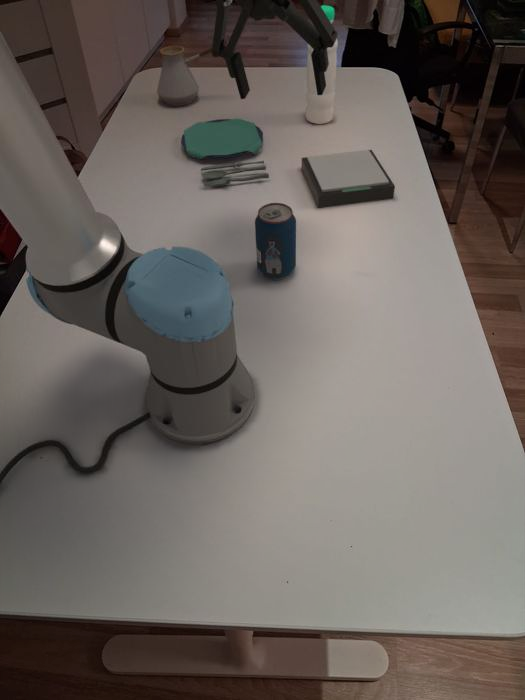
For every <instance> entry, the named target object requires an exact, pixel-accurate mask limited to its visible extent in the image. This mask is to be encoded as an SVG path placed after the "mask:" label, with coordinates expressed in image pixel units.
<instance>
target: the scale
mask: <svg viewBox="0 0 525 700" xmlns="http://www.w3.org/2000/svg"><path fill="white" fill-rule="evenodd" d="M300 168H301V169H300V170H301V172H302V174H303V176H304V179H305V181H306V183H307V186H308V188H309V190H310V193H311V195H312V197H313V199H314V202H315V204H316V206H317V208H319V209H320V208H326V207H335V206H343V205H351V204H358V203H365V202H367V203H368V202H373V201H381V200H382V201H383V200H389V199H394V195H395V188H396V186H395V183H393V181H392V179H391V177H390V176H389V175H388V173H387V172H386V170H385V169H384V166H383V165H382V164H381V162H380V161H379V159H378V157H377V156H376V154H375V153H374V151H373V150H372V149H363V150H356V151H355V150H354V151H346V152H338V153H329V154H322V155H321V154H320V155H313V156H312V155H311V156H306V157H301V167H300Z"/></svg>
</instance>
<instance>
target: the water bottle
mask: <svg viewBox="0 0 525 700" xmlns="http://www.w3.org/2000/svg"><path fill="white" fill-rule="evenodd" d="M320 6H321V8H322V9H323V11H324V12H325V14H326V16H327V17H328V19H329V21H330V22H331V24H332V25H333V22H334V21H335V20H334V19H335V15H336V14H335V13H336V12H335V8H334V7H333V6H330V5H320ZM306 44H307V57H306V58H307V59H306V88H307V89H306V108H305V118H306V120H307V121H308V122H309V123H312V124H315V125H324V124H327V123H330V122H331V121H332V120H333V119H334V115H335V106H334V104H335V99H336V98H335V97H336V95H335V88H336V87H335V86H336V79H337V63H338V62H337V60H338V59H337V58H338V55H337V54H338V53H337V50H338V46H339V42H338V38H337V39H336V41H335V43H334V45H333V47H331V48H327V53H328V61H329V65H328V68H327V70H326V72H324V74H325V81H326V87H325V89H324V92H323V94H322V95H317V89H316V83H315V76H314V70H313V64H312V58H311V54H312V52H313V50H314V49H313V48H312V47H311V46H310V45H309V44H308V43H306Z"/></svg>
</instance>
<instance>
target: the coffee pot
mask: <svg viewBox="0 0 525 700" xmlns="http://www.w3.org/2000/svg"><path fill="white" fill-rule="evenodd" d="M229 40H230V39H225V41H224V45H227V44H228V42H229ZM159 53H160V55H162V59H163V60H162V61H163V62H162V66H161V69H160V70H161V71H160V75H159V80H158V85H157V88H156V89H157V90H156V93H157V95H158V97H159V98H160V99H161V100H162V101H164V102H165V103H166V104H167V105H169V106H174V107H175V106H176V107H179V106H185V105H189V104H191V103H192V102H193V101H194V99H195V98H196V97H197V95H198V94H199V90H200V87H199V84H198V83H197V81H196V79H195V77H194V75H193V74H192V71H191V70H190V68H189V65H188V64H189V63H191V62H193V61H194V60H197V59H198V58H200V57H203V56H206V55H208V54H210V53H211V54H212V45H211V46H209V47H207V48H206V49H204V50H202V51H201V52H199V53H197V54H195V55H193V56H190V57H188V58H186V59H185V58H184V53H185V48H184V47H183V46H181V45H168V46H165V47H163V48H161V49H159Z"/></svg>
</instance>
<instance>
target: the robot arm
mask: <svg viewBox="0 0 525 700" xmlns="http://www.w3.org/2000/svg"><path fill="white" fill-rule="evenodd" d="M234 2H236V4H237V5H238V6H239V7H240V8H241V11H240V14H239V16H238V19H237V21H236V23H235V26H234V28H233V30H232V33H231V35H230V37H229V39H228V40H229V42H228V43H227V44H225V45H224V41H225V40H226V35H227V28H228V20H229V14H230V7H231V4H232V3H233V0H215V5H216V14H215V15H216V16H215V23H214V29H213V37H212V38H213V39H212V45H211V46H212V52H211V55H212V57H214V58H218V57H220V58H223V59H224V61H225V64H226V69H227V72H228V74H229V77H230V78H231V79H235V83H236V87H237V90H238V94H239V99H240V100H245V99H246V98H247V96H248V94H249V93H250V91H251V89H250V83H249V80H248V77H247V73H246V70H245V69H246V68H245V65H244V62H243V58H242V54H241V51H236V49H237V46H238V44H239V42H240V40H241V38H242V35H243V33H244V31H245V29H246V27H247V24H248V22H249V20H250V18H251V19H253V20H254V22H257V21H261V20H263V19H264V20H265V19H266V20H275V18H276V17H277V18H278V19H279V20H280V21H282V22H284V23H286V24H287V25H288V26H289V27H290V28H291V29H292V30H293V31H294V32H296V33H297V35H299V36H300V38H302V40H304V42H305V43H306V44H309V45H310V46H311V47H312V48H313V49H314V50H313V52H312V54H311V58H312V64H313V70H314V76H315V83H316V89H317V95H322V94H323V92H324V89H325V87H326V81H325V74H324V72H326V70H327V68H328V65H329V61H328V53H327V48H331V47H333V45H334V43H335V41H336V39H337V40H338V38H339V37H338V36H339V35H338V32H337V30H336V29H335V27H334V26H333V23H332V24H331V22H330V21H329V19H328V17H327V16H326V14H325V12H324V11H323V9H322V8H321V6H322V5H320V3H319V1H318V0H298V2H299V4H300V6H301V8H302V9H303V11H304V12H305V14H306V16H307V17H308V18H307V17H306V16H304V15H303V14H302V13H301V12H300V11H299V10H298V8H297V7H296V6H295V4H294V2H293V1H292V0H234ZM308 19H309V20H308ZM235 51H236V52H235ZM17 62H18V61H17V60H16V57H15V56H14V54H13V53H12V51H11V49H10V47H9V45H8V43H7V42H6V40H5V37H4V36H3V33H2V32H1V31H0V210H1V212H2V213H3V214H4V216H5V217H6V219H7V220H8V221H9V223H10V224H11V226H12V227H13V228H14V230H15V231H16V232H17V234H18V236H19V237H20V238H21V239H22V240H23V242H24V244H25V245H26V247H27V249H26V251H25V266H26V267H25V271H26V272H27V273H28V276H27V277H26V280H25V281H26V285H27V289H28V292H29V294H30V296H31V298H32V299H33V301H34V302H35V304H36V305H37V306H38V307H39V308H40V309H41V310H42V311H43V312H46V313H47V314H49V315H50V316H52V317H53V318H54V319H56V320H58V321H60V322H62V323H65V324H68V325H74V326H76V327H78V328H81V329H84V330H86V331H89V332H90V333H91V332H92V333H94V334H97V335H99V336H101V337H104V338H106V339H107V340H111V341H114V342H115V343H118V344H121V345H124V346H126V347H128V348H131V349H134V350H136V351H138V352H140V353H142V354H143V355H144V356H145V357H146V362H147V365H148V367H149V371H150V372H149V378H148V383H147V390H146V394H145V395H146V396H145V405H146V409H147V412H146V413H144V414H143V415H141V416H139V417H138V418H136V419H134V420H132V421H130V422H129V423H127V424H125V425H123V426H121V427H118V428H117V429H115V430H114V431H113V432H112V433H111V434H110V435H109V436H107V438H106V440H105V442H104V444H103V446H102V449H101V453H100V456H99V459H98V461H97V462H96V463H95V464H94V465H91V466H82V465H80V464H79V463H78V462H77V461H76V460H75V458H74V457H73V455H72V453H71V452H70V450H69V449H68V448H67V447H66V446H65V444H64V443H62V442H61V441H59V440H56V439H47V440H42V441H38V442H36V443H32V444H31V445H29V446H27V447H25V448H23V449H22V450H21V451H19V452H18V453H17V454H16V455H15V456H14V457H12V458H11V460H10V461H9V462H8V463H7V464H6V465H5V466H4V468H3V469H2V470H1V471H0V485H1V484H2V482H3V481H4V480H5V478H6V477H7V476H8V474H9V473H10V472H11V471H12V469H13V468H14V467H15V466H16V465H17V464H18V463H19V462H20V461H21V460H22V459H23V458H25V457H26V456H27V455H29V454H31V453H32V452H34V451H37V450H39V449H41V448H46V447H54V448H57V449H58V450H60V452H61V453H62V454H63V456H64V458H65V459H66V461H67V462H68V464H69V465H70V467H71V468H72V469H73V470H74V471H75V472H78V473H79V474H83V475H88V474H93V473H95V472H97V471H99V470H100V469H101V468H102V467H103V466H104V464H105V462H106V460H107V457H108V454H109V450H110V447H111V445H112V443H113V442H114V441H115V439H116V438H118V437H119V436H120V435H122V434H124V433H126V432H128V431H130V430H132V429H134V428H135V427H137V426H140V425H141V424H142V423H144V422H146V421H147V420H151V422H152V424H153V426H154V427H155V428H156V429H157V431H159V433H161V434H162V435H163V436H165V437H166V438H168V439H170V440H172V441H173V442H178V443H181V444H186V445H205V444H210V443H215V442H218V441H221V440H223V439H225V438H227V437H229V436H230V435H233V434H234V433H235V432H236V431H238V430H239V429H240V428H241V427H243V425H244V424H245V423H246V421H247V420H248V418H249V416H251V414H252V411H253V408H254V405H255V404H254V403H255V389H254V383H253V382H254V381H253V379H252V376H251V374H250V373H249V370H248V369H247V368H246V366H245V364H244V363H243V361H242V360H241V358H240V357H239V355H238V350H237V339H236V329H235V328H236V327H235V318H234V310H235V309H234V299H233V296H232V292H231V290H230V285H229V281H228V277H227V276H226V273H225V271H224V270H223V268H222V267H221V265H220V264H219V263H218V262H217V261H216V260H215V259H213V258H212V257H211V256H209V255H207V254H206V253H204V252H202V251H200V250H197V249H193V248H190V247H186V246H172V247H171V249H166V248H165V247H157V248H154V249H151V250H149V251H147V252H145V253H141V252H138V251H135V250H133V249H131V247H130V246H128V244H127V242H126V240H125V238H124V236H123V234H122V232H121V230H120V228H119V225H118V224H117V223H116V222H115V220H114V219H113V218H111V216H109V215H107V214H105V213H102V212H100V211H96V209H95V208H94V206H93V203H92V202H91V200H90V198H89V196H88V194H87V192H86V190H85V189H84V187H83V185H82V183H81V181H80V179H79V178H78V175H77V173H76V171H75V170H74V168H73V166H72V164H71V162H70V160H69V158H68V157H67V155H66V153H65V150H64V149H63V147H62V145H61V143H60V142H59V140H58V138H57V136H56V134H55V131H54V130H53V128H52V126H51V125H50V123H49V120H48V119H47V116H46V115H45V113H44V111H43V109H42V108H41V106H40V104H39V102H38V100H37V98H36V96H35V94H34V92H33V90H32V89H31V87H30V85H29V83H28V81H27V79H26V77H25V75H24V74H23V72H22V69H21V67H20V66H19V63H17Z"/></svg>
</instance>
